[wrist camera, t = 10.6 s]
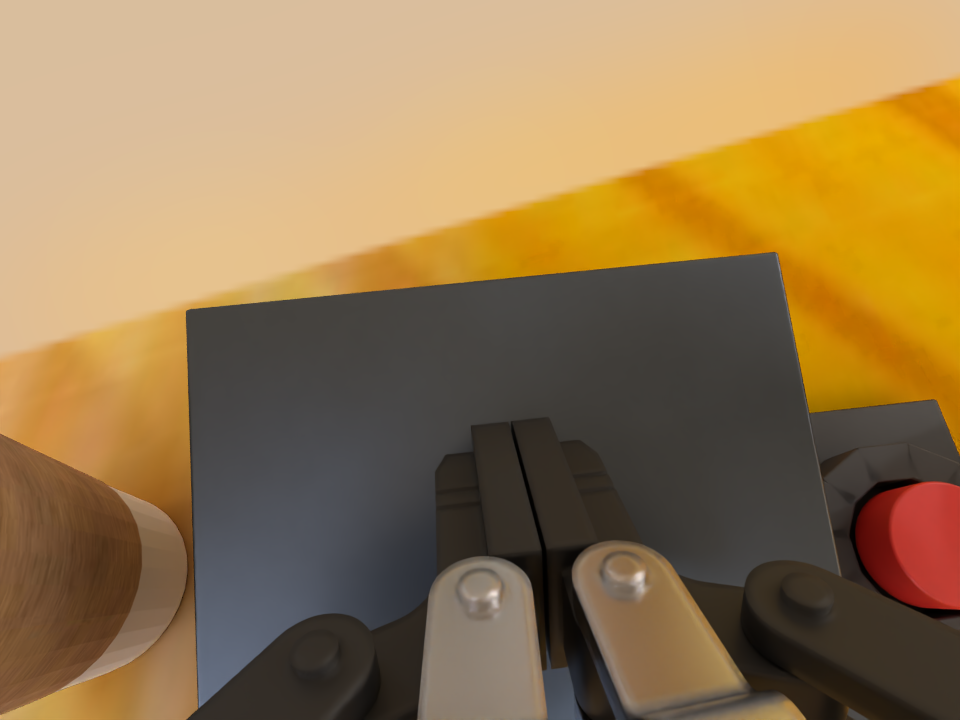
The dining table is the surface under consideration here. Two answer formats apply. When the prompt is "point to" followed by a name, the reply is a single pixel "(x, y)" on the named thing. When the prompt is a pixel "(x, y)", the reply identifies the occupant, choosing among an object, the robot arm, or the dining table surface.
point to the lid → (483, 400)
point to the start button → (914, 543)
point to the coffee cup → (77, 576)
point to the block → (880, 471)
